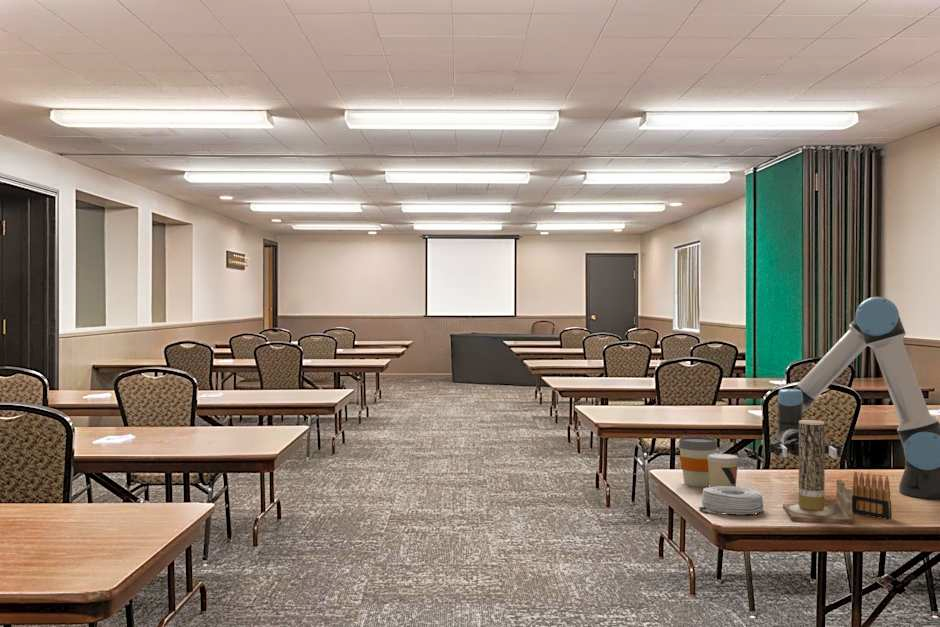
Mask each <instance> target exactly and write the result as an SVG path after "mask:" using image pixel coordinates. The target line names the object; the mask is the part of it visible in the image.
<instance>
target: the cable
mask: <svg viewBox="0 0 940 627" xmlns="http://www.w3.org/2000/svg"><path fill="white" fill-rule="evenodd" d="M700 499H701V505H702V506H698V509H699V511H701V512H702V513H704V512H708V513H707V514H712V513H726V514H725V515H728V514H736V516H737V515H738V516H746V515H745V514H753V515H756V514H755V513H758V514H760V513H762V511H763V510H764V501H763V494H762V493H761V491H758V489H754V488H750V487H744V486H736V487H735V486H717V487H710V486H709V487H703V490H702V496H701V498H700ZM759 512H760V513H759Z"/></svg>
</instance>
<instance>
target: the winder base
mask: <svg viewBox="0 0 940 627" xmlns="http://www.w3.org/2000/svg"><path fill="white" fill-rule="evenodd" d="M852 495H853V488H851V487H850V486H849V485H846V483H845V482H844V481H843V480H842V479H836V505H824V509H823V510H821V511H809V510H804V509H801V508H800V507H799V503H783V504H782V508H783V510H784V509H785V510H784V511H785V513H786V515H787V516H788V517H790V518H789V519H790V521H791V520H792V521H791V522H801V521H811V522H810V523H821V522H825V523H824V524H840V523H849V524H848V525H854V524H855V519H854V518H853V513H852Z"/></svg>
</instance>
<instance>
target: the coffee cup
mask: <svg viewBox="0 0 940 627" xmlns="http://www.w3.org/2000/svg"><path fill="white" fill-rule="evenodd" d="M707 459H708V470H709V484H710V486H709V488H710V487H717V486H735V487H737V477H738V476H737V475H738V461H739V459H738V456H737V455H734V454H729V453H716V454H710V455H709V456H708V458H707Z"/></svg>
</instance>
